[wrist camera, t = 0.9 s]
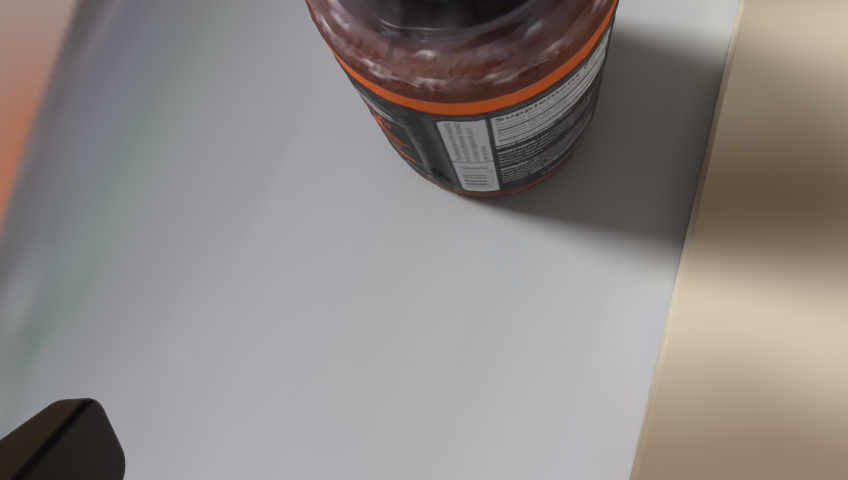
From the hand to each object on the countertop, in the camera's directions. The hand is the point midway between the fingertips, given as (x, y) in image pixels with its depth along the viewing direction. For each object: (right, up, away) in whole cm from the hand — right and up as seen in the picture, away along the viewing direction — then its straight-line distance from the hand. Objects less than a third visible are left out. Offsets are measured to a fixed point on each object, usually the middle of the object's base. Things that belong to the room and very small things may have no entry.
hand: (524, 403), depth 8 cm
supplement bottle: (+1, +6, +14) cm, 15 cm away
